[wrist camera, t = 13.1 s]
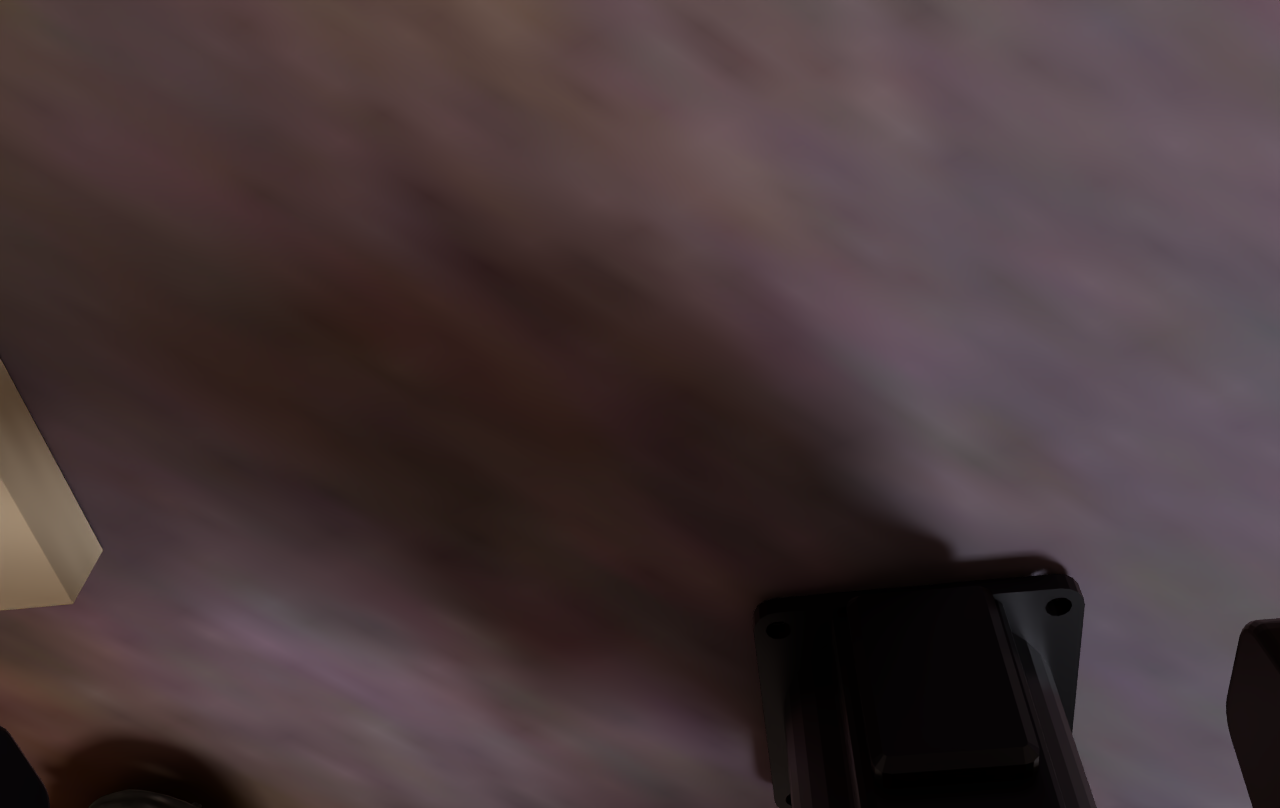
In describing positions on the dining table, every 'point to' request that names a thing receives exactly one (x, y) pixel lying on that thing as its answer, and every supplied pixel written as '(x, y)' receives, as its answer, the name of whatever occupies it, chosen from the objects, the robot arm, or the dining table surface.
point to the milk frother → (140, 800)
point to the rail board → (37, 516)
